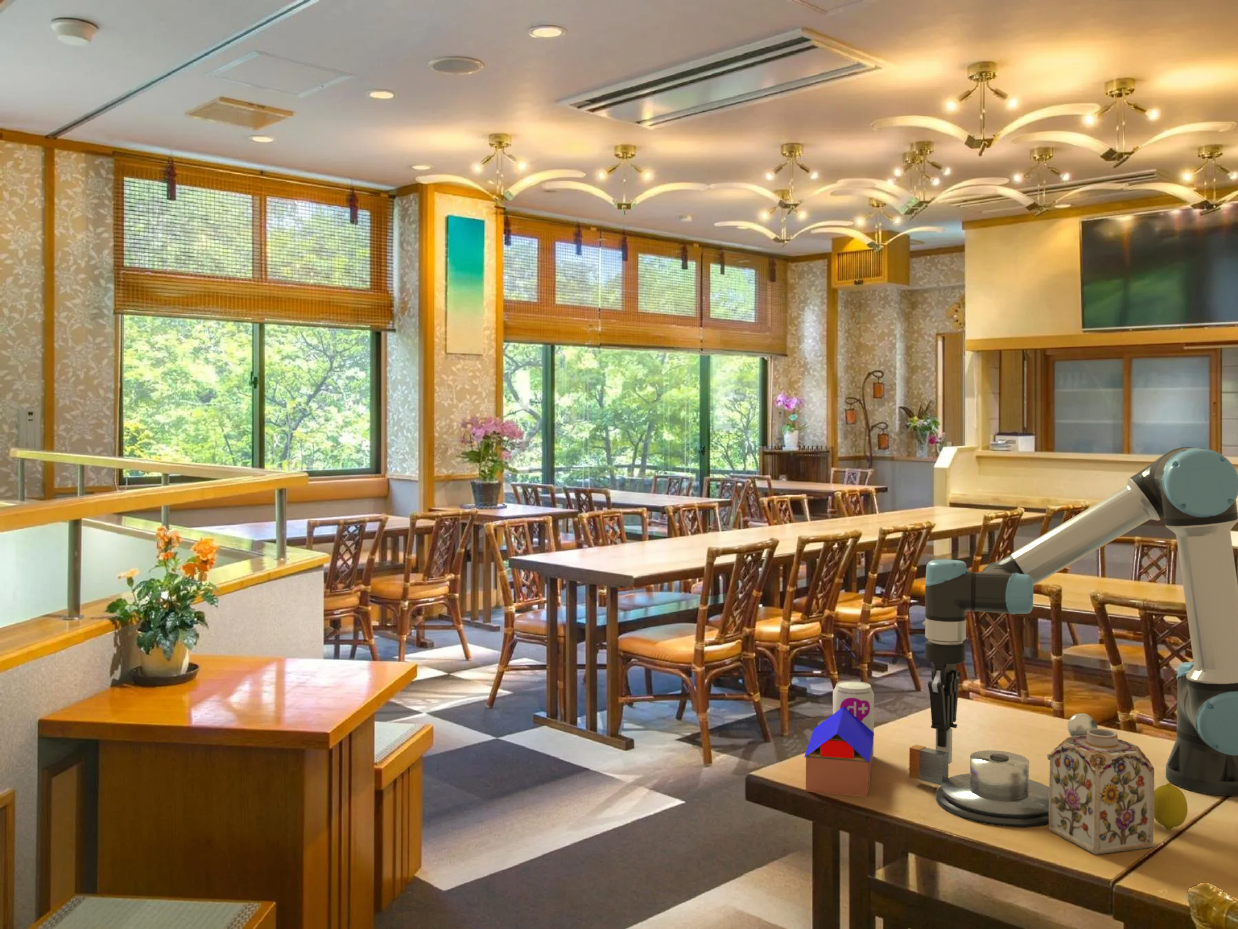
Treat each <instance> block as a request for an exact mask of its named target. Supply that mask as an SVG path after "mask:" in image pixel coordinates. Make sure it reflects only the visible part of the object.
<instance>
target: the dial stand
mask: <svg viewBox="0 0 1238 929" xmlns="http://www.w3.org/2000/svg"><path fill="white" fill-rule="evenodd" d="M1066 725H1067V726H1066V727H1067V728H1066V729H1067V733H1068V734H1069V735H1070V736H1069V737H1072V736H1082V735H1087V731H1088V730H1090V729H1099V727H1098V723H1097V722H1096V720H1095V719H1094V718H1093V717H1092V716H1090V715H1089V714H1087V713H1076V714H1074V715H1072V716H1071V717H1070V718H1069V720H1068V721H1067V724H1066ZM1050 754H1051V753H1050ZM1050 754H1049V753H1048V754H1047V760H1048V761H1050Z"/></svg>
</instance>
